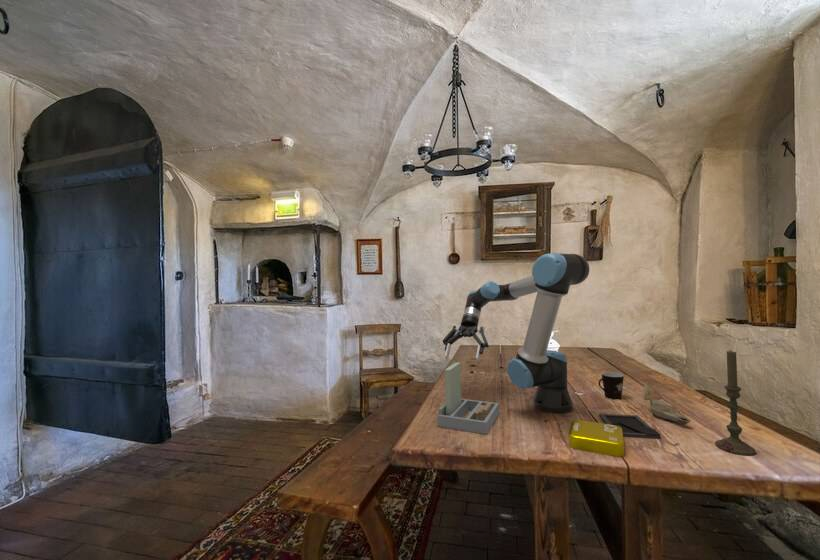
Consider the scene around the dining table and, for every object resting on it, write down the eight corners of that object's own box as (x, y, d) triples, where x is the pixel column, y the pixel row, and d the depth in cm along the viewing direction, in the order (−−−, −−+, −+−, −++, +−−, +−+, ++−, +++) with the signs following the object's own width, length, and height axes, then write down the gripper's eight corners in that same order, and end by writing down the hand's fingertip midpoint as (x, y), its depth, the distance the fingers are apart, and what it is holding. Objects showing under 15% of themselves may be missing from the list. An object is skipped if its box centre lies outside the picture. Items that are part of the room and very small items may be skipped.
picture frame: (661, 440, 114) (637, 419, 132) (660, 434, 114) (637, 414, 132) (616, 438, 117) (598, 417, 134) (615, 432, 117) (598, 412, 134)
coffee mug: (618, 394, 160) (617, 372, 160) (628, 400, 151) (627, 377, 151) (591, 393, 161) (591, 372, 161) (600, 400, 152) (599, 377, 152)
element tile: (572, 430, 123) (571, 417, 123) (622, 438, 116) (621, 424, 116) (568, 449, 110) (568, 433, 110) (624, 459, 103) (624, 443, 103)
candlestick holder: (707, 442, 111) (703, 347, 111) (733, 440, 111) (730, 346, 112) (736, 456, 102) (732, 352, 102) (765, 454, 102) (761, 351, 103)
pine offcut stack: (492, 418, 136) (491, 402, 136) (486, 426, 128) (486, 410, 128) (480, 416, 138) (480, 401, 138) (474, 424, 130) (474, 408, 130)
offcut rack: (499, 413, 140) (498, 398, 140) (486, 434, 121) (486, 416, 121) (456, 407, 148) (455, 393, 148) (437, 426, 129) (437, 410, 129)
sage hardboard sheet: (461, 412, 143) (460, 362, 143) (451, 423, 131) (449, 370, 131) (457, 411, 143) (455, 362, 144) (446, 423, 132) (444, 369, 132)
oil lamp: (657, 407, 142) (656, 382, 142) (700, 429, 121) (699, 400, 121) (635, 408, 142) (635, 383, 142) (675, 430, 121) (674, 400, 121)
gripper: (499, 325, 158) (492, 366, 145) (447, 323, 169) (436, 361, 156) (496, 314, 154) (489, 355, 140) (442, 313, 165) (431, 351, 151)
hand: (461, 358), depth 148 cm, fingers open, 13 cm apart
